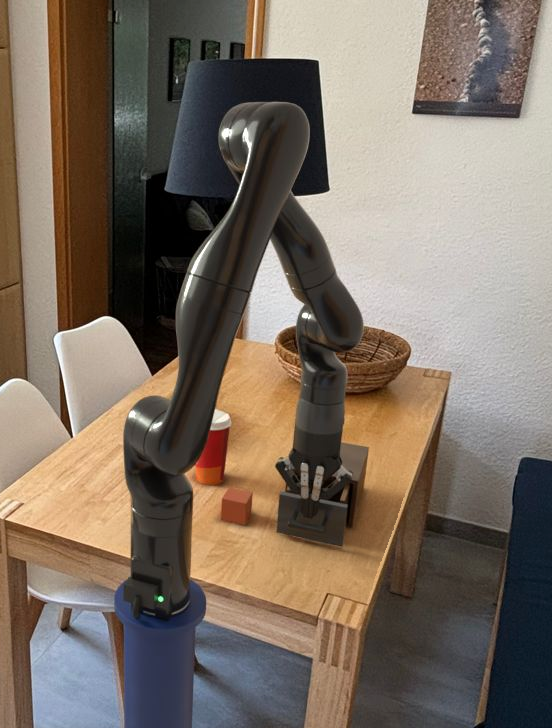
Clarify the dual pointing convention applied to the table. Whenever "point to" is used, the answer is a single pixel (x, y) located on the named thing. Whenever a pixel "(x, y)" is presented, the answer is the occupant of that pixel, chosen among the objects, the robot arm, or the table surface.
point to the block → (236, 506)
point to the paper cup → (214, 451)
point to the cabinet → (357, 463)
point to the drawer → (319, 528)
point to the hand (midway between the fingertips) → (308, 516)
